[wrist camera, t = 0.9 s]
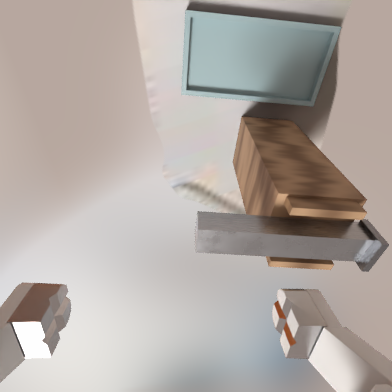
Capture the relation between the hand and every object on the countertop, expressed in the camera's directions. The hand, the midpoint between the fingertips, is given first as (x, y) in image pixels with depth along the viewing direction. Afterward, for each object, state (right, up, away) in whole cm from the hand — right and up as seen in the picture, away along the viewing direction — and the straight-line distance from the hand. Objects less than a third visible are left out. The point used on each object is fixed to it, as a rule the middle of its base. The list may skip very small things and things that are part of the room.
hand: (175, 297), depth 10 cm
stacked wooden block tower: (+14, +15, +41) cm, 46 cm away
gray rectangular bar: (+11, 0, +20) cm, 23 cm away
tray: (+11, +27, +33) cm, 44 cm away
